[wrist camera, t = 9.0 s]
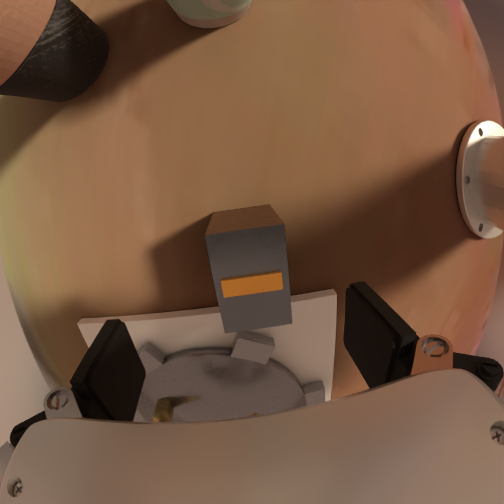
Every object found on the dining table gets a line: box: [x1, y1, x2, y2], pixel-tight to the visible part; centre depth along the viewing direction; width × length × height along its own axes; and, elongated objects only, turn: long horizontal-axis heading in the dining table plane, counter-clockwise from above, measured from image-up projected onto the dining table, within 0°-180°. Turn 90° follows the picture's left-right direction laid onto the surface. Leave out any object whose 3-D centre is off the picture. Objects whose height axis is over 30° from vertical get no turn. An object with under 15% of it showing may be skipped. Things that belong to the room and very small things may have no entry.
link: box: [205, 204, 292, 333], centre depth 17 cm, size 4×6×6 cm, turn 8°
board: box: [77, 289, 337, 401], centre depth 25 cm, size 23×23×1 cm
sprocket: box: [133, 331, 325, 422], centre depth 21 cm, size 21×20×7 cm
